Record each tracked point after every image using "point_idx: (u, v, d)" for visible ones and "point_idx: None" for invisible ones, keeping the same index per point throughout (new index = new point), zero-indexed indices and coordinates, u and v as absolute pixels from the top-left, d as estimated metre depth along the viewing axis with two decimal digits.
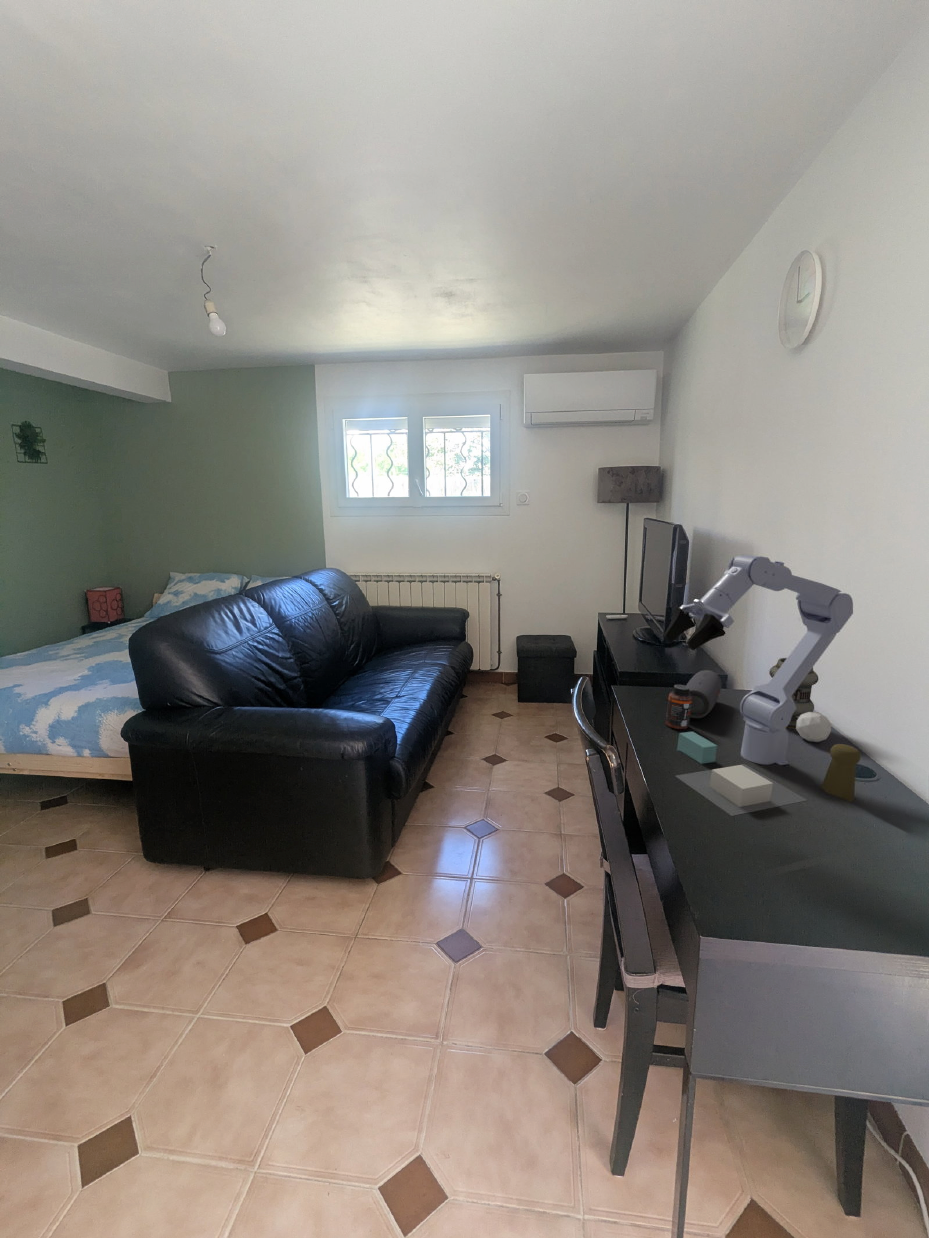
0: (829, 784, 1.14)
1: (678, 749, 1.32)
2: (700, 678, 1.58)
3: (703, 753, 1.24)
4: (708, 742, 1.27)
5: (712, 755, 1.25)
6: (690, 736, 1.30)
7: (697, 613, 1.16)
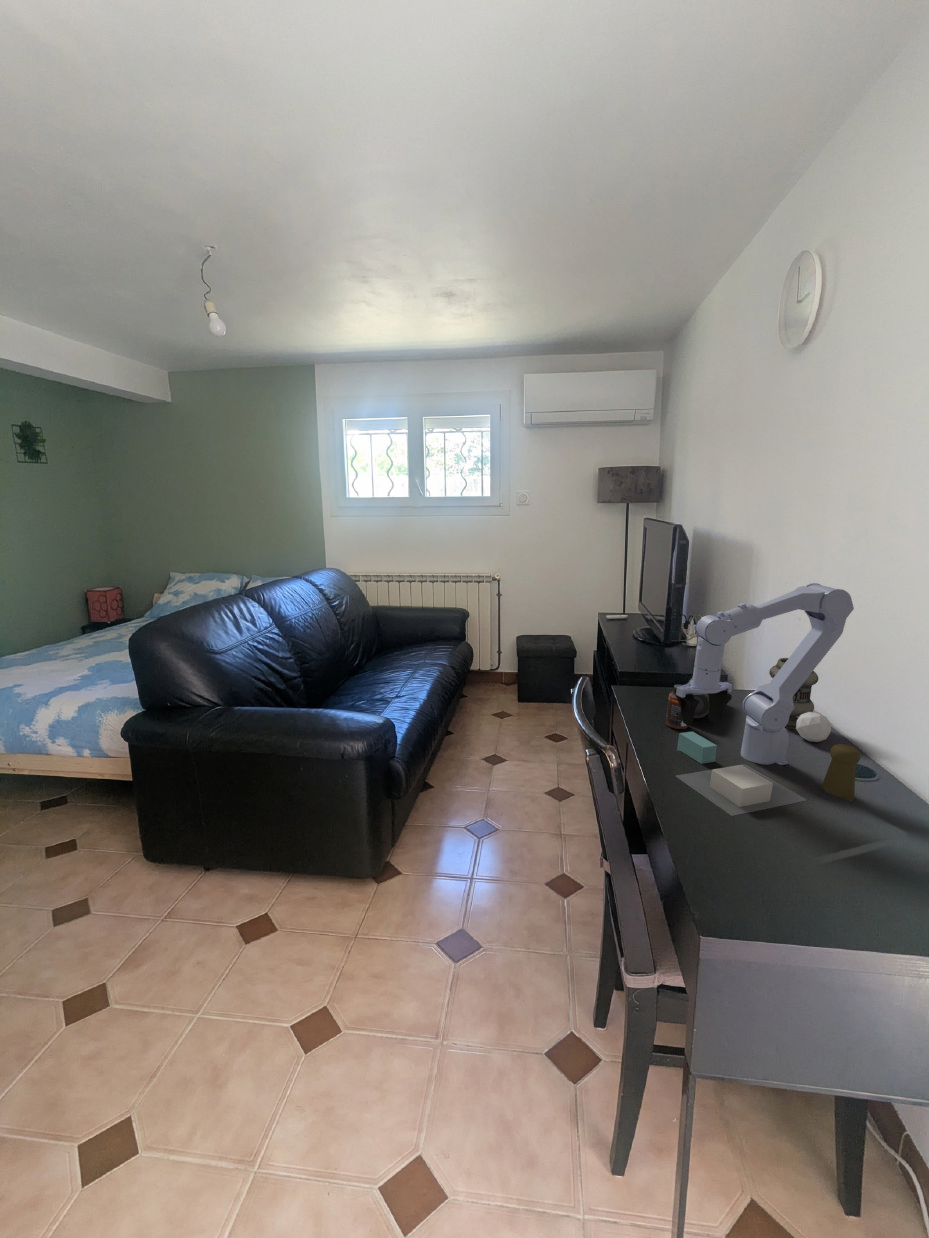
0: (829, 784, 1.14)
1: (678, 749, 1.32)
2: None
3: (703, 752, 1.24)
4: (708, 742, 1.27)
5: (712, 755, 1.25)
6: (690, 736, 1.30)
7: None
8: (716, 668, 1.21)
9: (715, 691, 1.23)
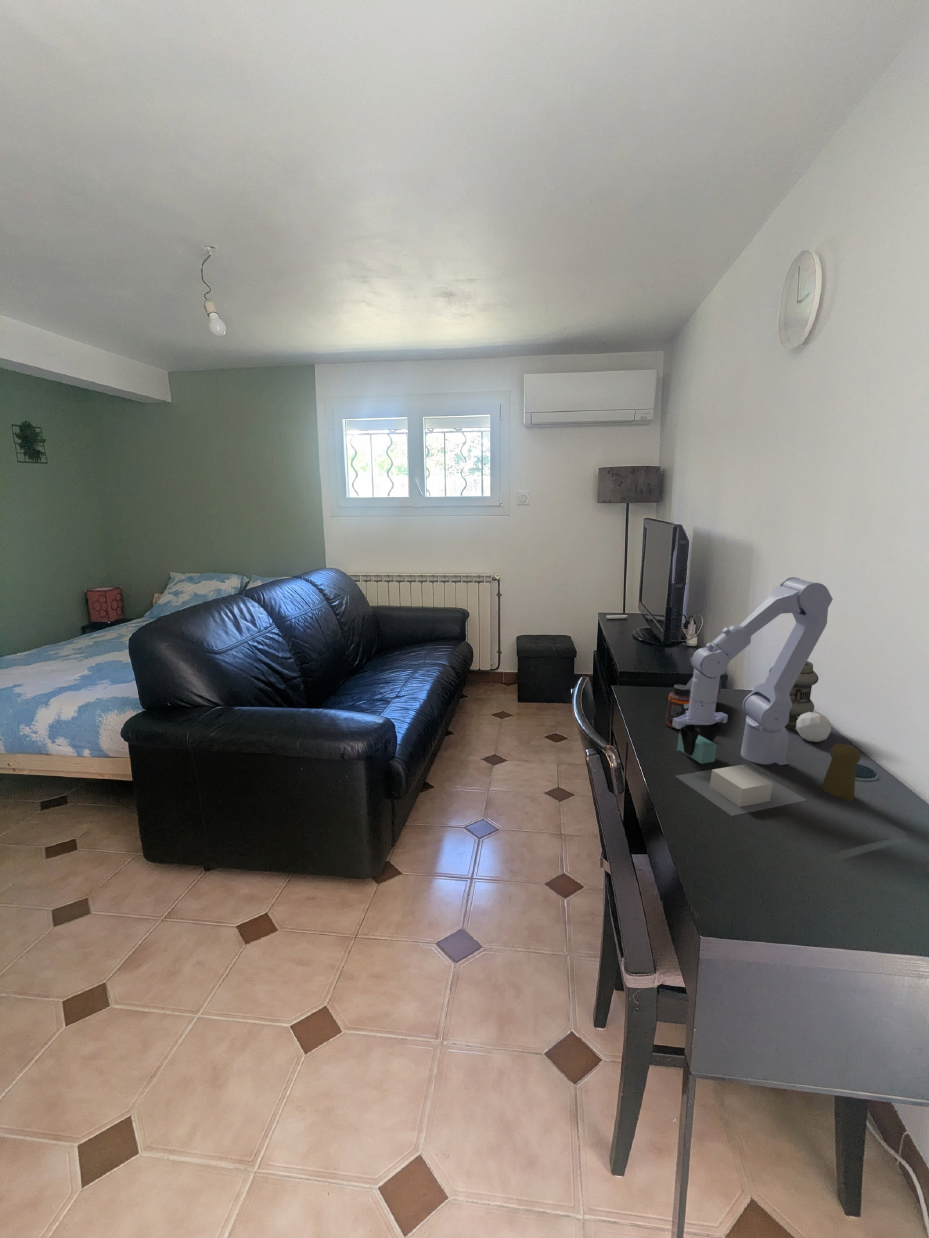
0: (829, 784, 1.14)
1: (678, 748, 1.32)
2: None
3: (703, 752, 1.24)
4: (708, 741, 1.27)
5: (712, 755, 1.25)
6: None
7: None
8: (711, 700, 1.23)
9: (711, 723, 1.24)
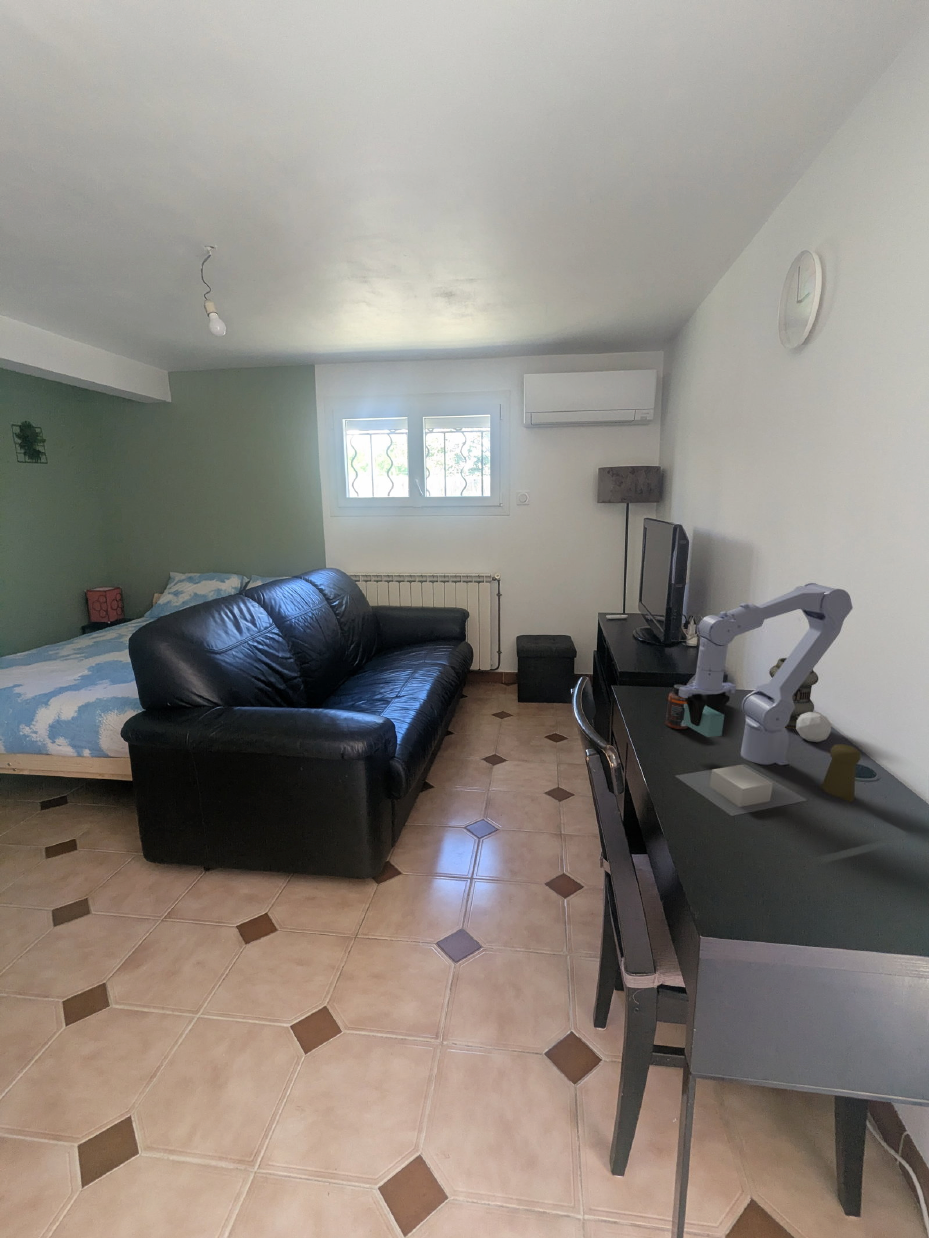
0: (829, 784, 1.14)
1: (684, 720, 1.29)
2: None
3: (710, 722, 1.21)
4: (715, 712, 1.24)
5: (719, 725, 1.23)
6: None
7: None
8: (720, 668, 1.20)
9: (718, 692, 1.21)
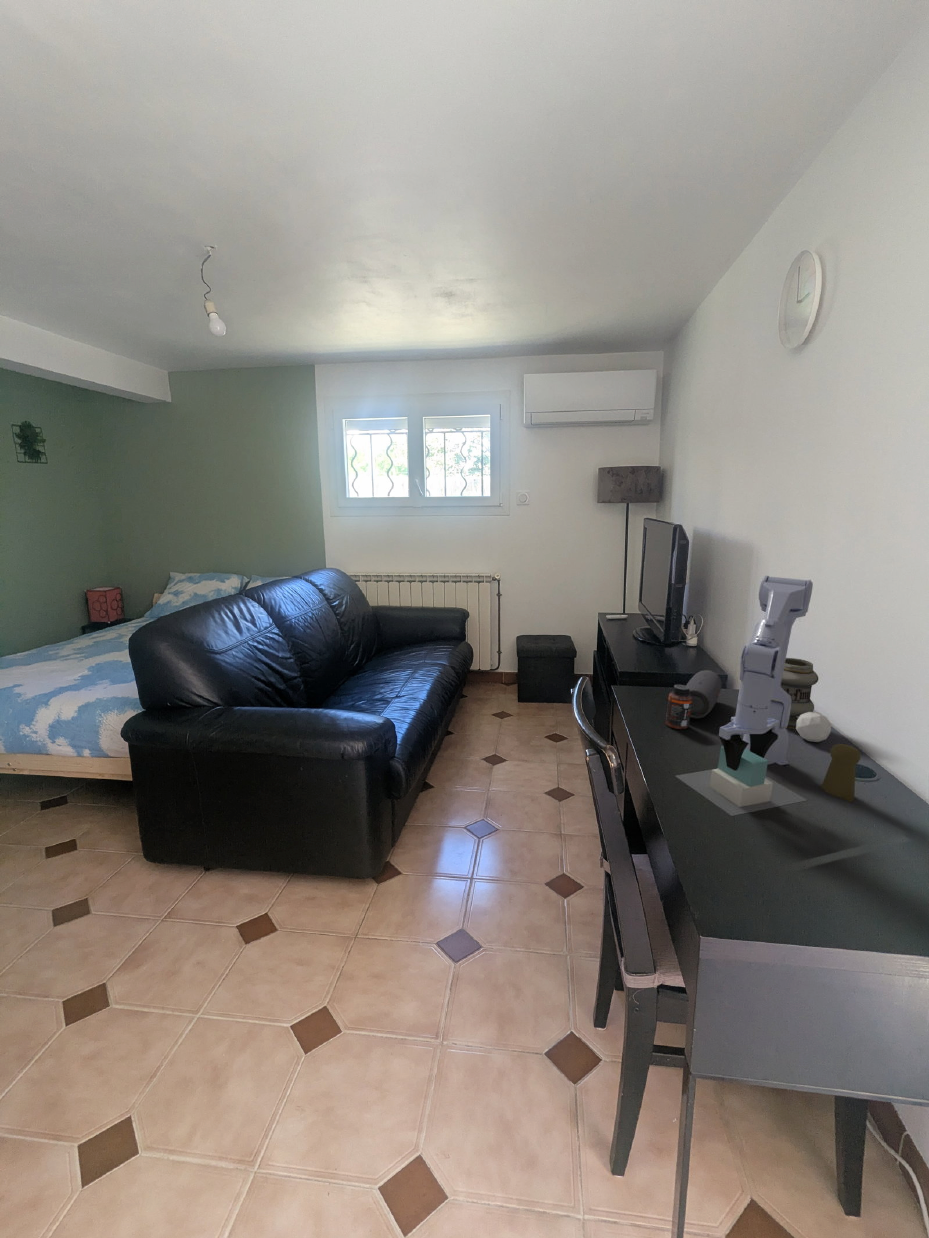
0: (829, 784, 1.14)
1: (719, 765, 1.14)
2: (700, 678, 1.58)
3: (753, 769, 1.06)
4: (757, 757, 1.09)
5: (762, 772, 1.08)
6: None
7: None
8: None
9: (764, 731, 1.06)
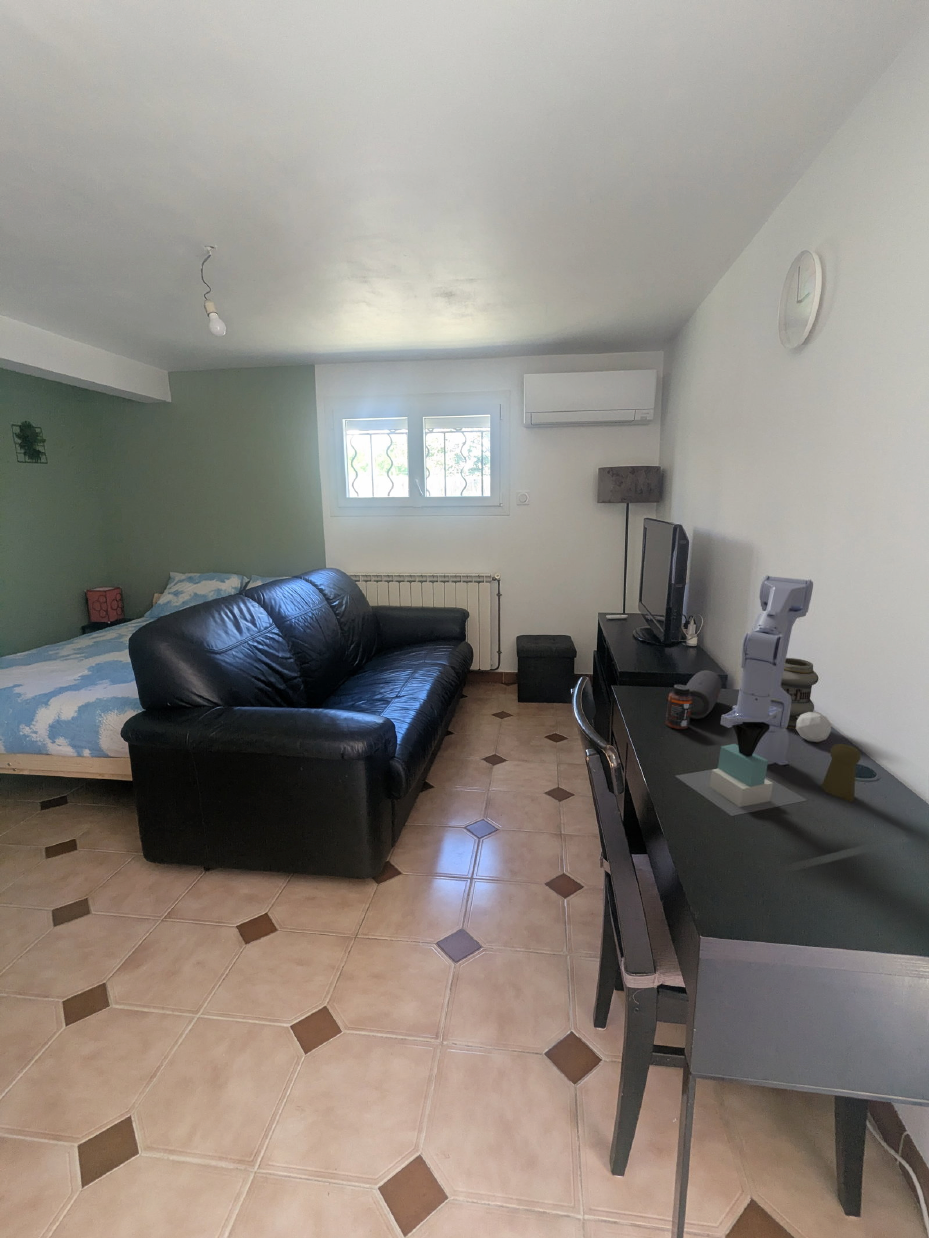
0: (829, 784, 1.14)
1: (719, 765, 1.14)
2: (700, 678, 1.58)
3: (753, 769, 1.06)
4: (757, 757, 1.09)
5: (762, 772, 1.08)
6: (735, 750, 1.12)
7: None
8: None
9: (766, 719, 1.06)
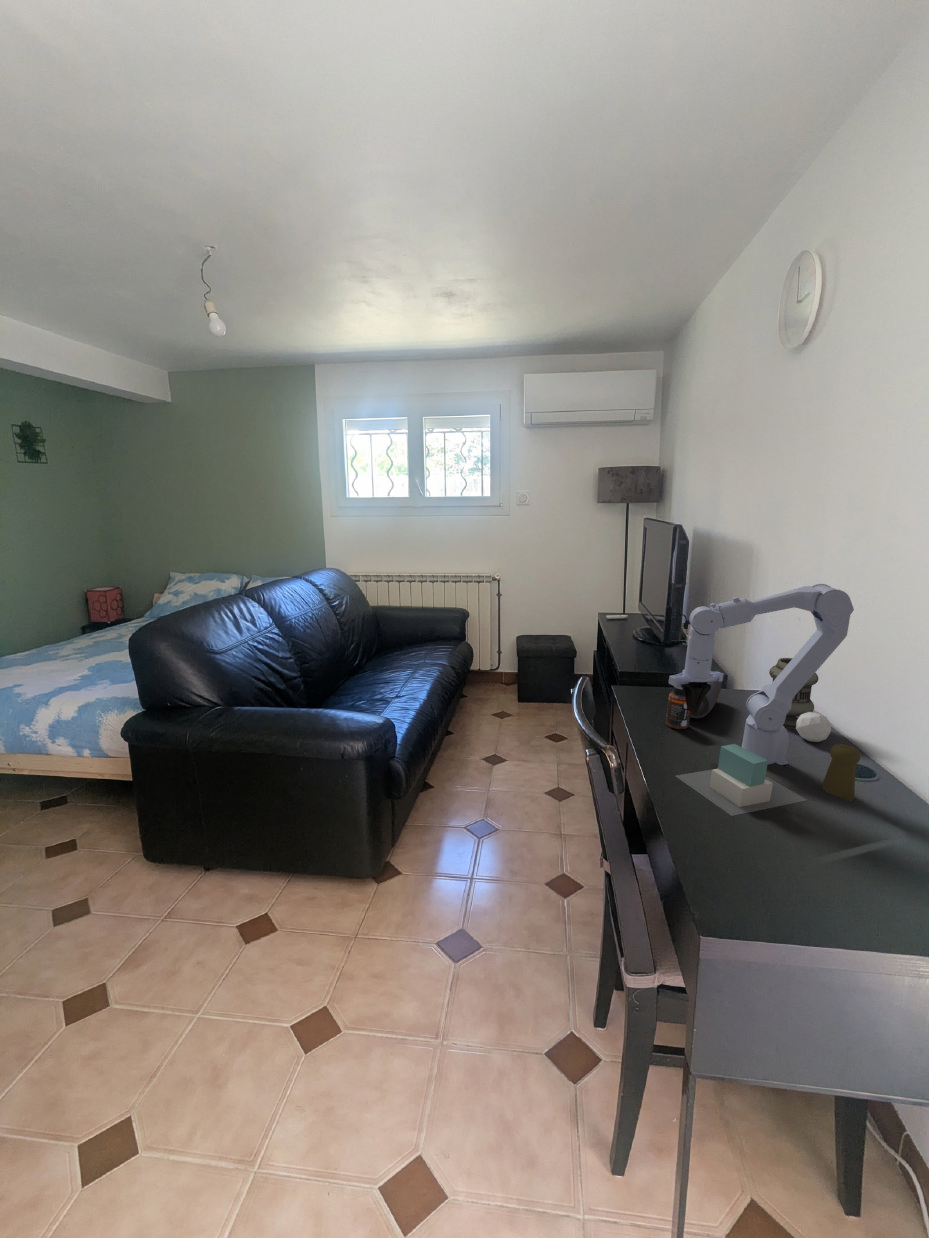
0: (829, 784, 1.14)
1: (719, 765, 1.14)
2: None
3: (753, 769, 1.06)
4: (757, 757, 1.09)
5: (762, 772, 1.08)
6: (735, 750, 1.12)
7: None
8: (704, 657, 1.25)
9: (706, 680, 1.26)
